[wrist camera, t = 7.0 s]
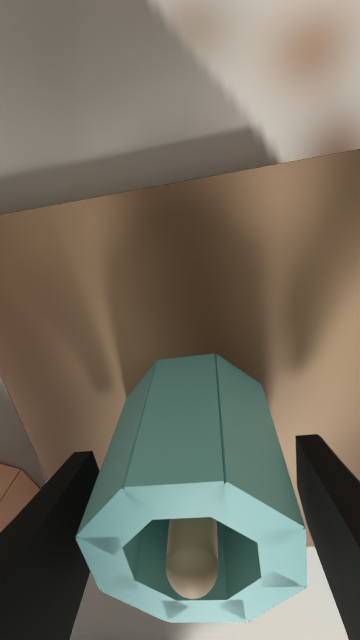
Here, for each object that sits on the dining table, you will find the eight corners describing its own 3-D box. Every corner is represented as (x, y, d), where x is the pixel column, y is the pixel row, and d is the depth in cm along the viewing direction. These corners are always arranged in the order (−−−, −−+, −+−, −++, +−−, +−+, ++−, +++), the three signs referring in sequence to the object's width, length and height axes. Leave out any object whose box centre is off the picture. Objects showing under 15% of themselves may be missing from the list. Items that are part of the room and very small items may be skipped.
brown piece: (87, 532, 16) (20, 734, 10) (-43, 223, 10) (-390, 272, 4) (366, 522, 15) (482, 758, 9) (403, 142, 9) (886, 27, 3)
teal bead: (145, 467, 13) (114, 623, 8) (116, 364, 11) (54, 491, 6) (268, 458, 12) (308, 622, 8) (259, 348, 10) (304, 476, 6)
